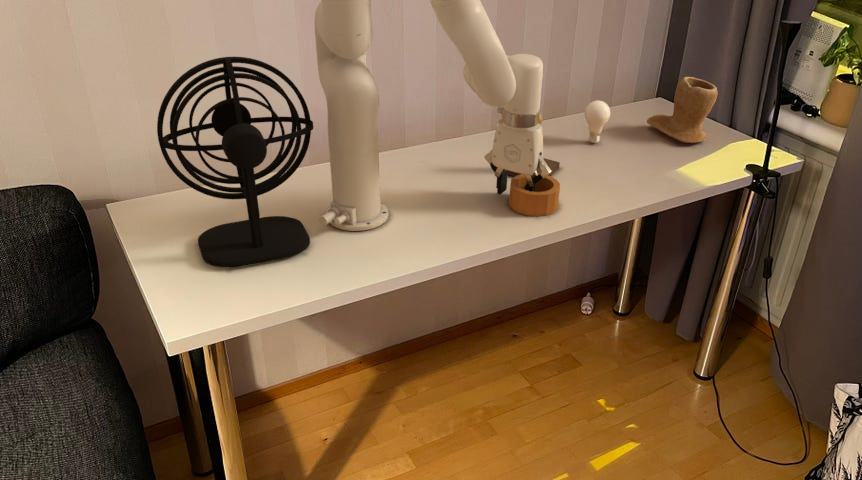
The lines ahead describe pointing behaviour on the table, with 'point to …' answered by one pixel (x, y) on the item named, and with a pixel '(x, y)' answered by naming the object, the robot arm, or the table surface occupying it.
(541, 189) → the tape roll
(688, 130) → the brown boot
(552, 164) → the hook base
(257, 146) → the desk fan
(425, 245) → the table surface
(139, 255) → the table surface
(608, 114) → the lightbulb
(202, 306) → the table surface
